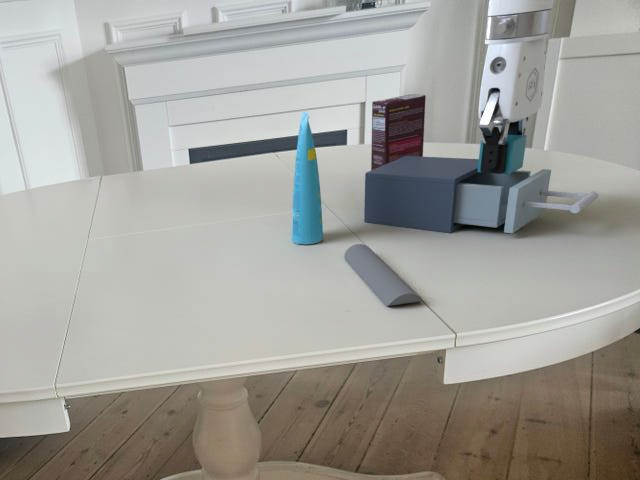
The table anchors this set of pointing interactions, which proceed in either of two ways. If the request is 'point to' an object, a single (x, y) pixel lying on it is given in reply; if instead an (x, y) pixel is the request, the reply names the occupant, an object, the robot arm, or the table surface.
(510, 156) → the teal box
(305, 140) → the tube
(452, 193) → the drawer cabinet
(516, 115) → the robot arm
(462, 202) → the drawer
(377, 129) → the supplement box
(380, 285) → the gray half cylinder
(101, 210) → the table surface
